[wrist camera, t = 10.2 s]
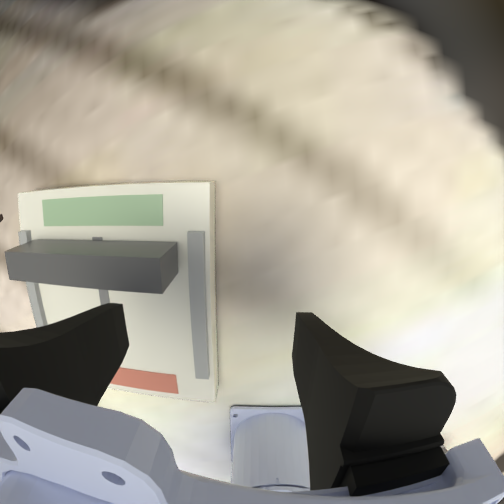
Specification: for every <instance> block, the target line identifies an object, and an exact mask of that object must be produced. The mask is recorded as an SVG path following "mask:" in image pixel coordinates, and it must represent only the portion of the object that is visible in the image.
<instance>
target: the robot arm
mask: <svg viewBox="0 0 504 504" xmlns="http://www.w3.org/2000/svg"><path fill="white" fill-rule="evenodd" d="M128 348H129V339H128V334H127V328H126V322H125V316H124V309H123V304H119V303H106V304H103V305H100V306H97V307H95V308H92V309H89V310H87V311H84V312H82V313H79V314H77V315H74V316H72V317H69V318H66V319H64V320H61V321H58V322H55V323H52V324H49V325H45V326H41V327H37V328H33V329H27V330H21V331H15V332H4V333H0V504H497V503H498V502H499V501H500V500H501V499H502V498H503V497H504V476H503V474H502V473H501V471H500V469H499V468H498V466H497V465H496V463H495V461H494V460H493V458H492V457H491V455H490V454H489V452H488V450H487V449H486V447H485V446H484V444H483V443H482V441H481V440H480V438H477V439H474V440H472V441H469V442H467V443H464V444H461V445H458V446H455V447H453V448H451V449H450V450H449V451H447V452H446V453H444V452H443V450H442V448H441V446H442V445H443V444H444V439H443V437H442V436H441V434H440V432H441V431H442V429H443V427H444V425H445V423H446V422H447V420H448V418H449V416H450V414H451V412H452V410H453V407H454V405H455V402H456V392H455V389H454V387H453V386H452V385H451V383H450V382H449V381H448V380H447V378H446V377H445V376H444V374H443V373H442V372H441V371H435V370H428V369H421V368H415V367H411V366H407V365H403V364H399V363H396V362H393V361H390V360H387V359H384V358H382V357H379V356H377V355H374V354H372V353H370V352H368V351H366V350H364V349H362V348H360V347H358V346H357V345H355V344H353V343H352V342H350V341H349V340H347V339H346V338H344V337H343V336H341V335H340V334H338V333H337V332H336V331H334V330H333V329H332V328H330V327H329V326H328V325H327V324H325V323H324V322H323V321H322V320H321V319H319V318H318V317H317V316H316V315H314V314H313V313H304V312H296V322H295V332H294V342H293V351H292V360H293V371H294V377H295V382H296V386H297V390H298V394H299V398H300V402H301V407H242V406H233V407H231V409H230V428H231V457H232V474H231V483H227V482H223V481H219V480H214V479H210V478H207V477H203V476H199V475H195V474H192V473H188V472H185V471H182V470H179V469H178V467H177V465H176V462H175V459H174V455H173V451H172V449H171V447H170V446H169V445H168V443H167V442H166V440H165V438H164V437H163V435H162V434H161V433H160V432H158V431H157V430H156V429H154V428H153V427H151V426H150V425H148V424H147V423H146V422H144V421H143V420H142V419H139V418H136V417H133V416H131V415H128V414H125V413H123V412H120V411H115V410H111V409H106V408H102V407H98V406H97V405H98V403H99V401H100V399H101V397H102V396H103V394H104V392H105V391H106V389H107V387H108V386H109V384H110V382H111V381H112V379H113V378H114V376H115V374H116V373H117V371H118V369H119V368H120V366H121V364H122V362H123V360H124V358H125V355H126V353H127V350H128ZM234 414H237V415H234Z"/></svg>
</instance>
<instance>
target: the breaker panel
mask: <svg viewBox="0 0 504 504" xmlns="http://www.w3.org/2000/svg"><path fill="white" fill-rule="evenodd" d="M18 208H19V220H20V230H21V231H19V232H18V234H19V242H20V245H22V244H24V243H27V242H29V241H32V240H34V239H36V240H103V241H155V242H177V251H178V274H177V275H176V276H175V278H174V279H173V281H172V282H171V283H170V285H169V286H168V287H167V289H166V290H165V291H164V293H163V294H153V293H138V292H125V291H113V290H101V289H90V288H79V287H69V286H60V285H50V284H42V283H33V282H26V285H27V290H28V294H29V299H30V303H31V307H32V311H33V315H34V319H35V323H36V327H41V326H45V325H49V324H52V323H55V322H58V321H61V320H64V319H66V318H69V317H72V316H74V315H77V314H79V313H82V312H84V311H87V310H89V309H92V308H95V307H97V306H100V305H103V304H106V303H119V304H123V309H124V316H125V322H126V328H127V334H128V339H129V348H128V350H127V353H126V355H125V358H124V360H123V362H122V364H121V366H120V368H119V369H118V371H117V373H116V374H115V376H114V378H113V379H112V381H111V382H110V384H109V386H108V387H107V388H111V389H116V390H121V391H127V392H132V393H138V394H145V395H151V396H158V397H165V398H173V399H182V400H192V401H202V402H216V396H217V390H218V384H219V382H218V359H217V330H216V289H215V181H179V182H142V183H120V184H103V185H88V186H75V187H63V188H52V189H42V190H34V191H28V192H22V193H18Z"/></svg>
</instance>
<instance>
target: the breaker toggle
mask: <svg viewBox="0 0 504 504" xmlns="http://www.w3.org/2000/svg"><path fill="white" fill-rule="evenodd" d="M5 257H6V263H7V269H8V274H9V279H10V280H17V281H25V282H33V283H42V284H50V285H60V286H69V287H79V288H90V289H101V290H113V291H125V292H138V293H153V294H163V293H164V291H165V290H166V289H167V287H168V286H169V285H170V283H171V282H172V281H173V279H174V278H175V276H176V275H177V274H178V251H177V242H155V241H103V240H36V239H34V240H32V241H29V242H27V243H24V244H22V245H19V246H17V247H14V248H12V249H10V250H7V251H5Z"/></svg>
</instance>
